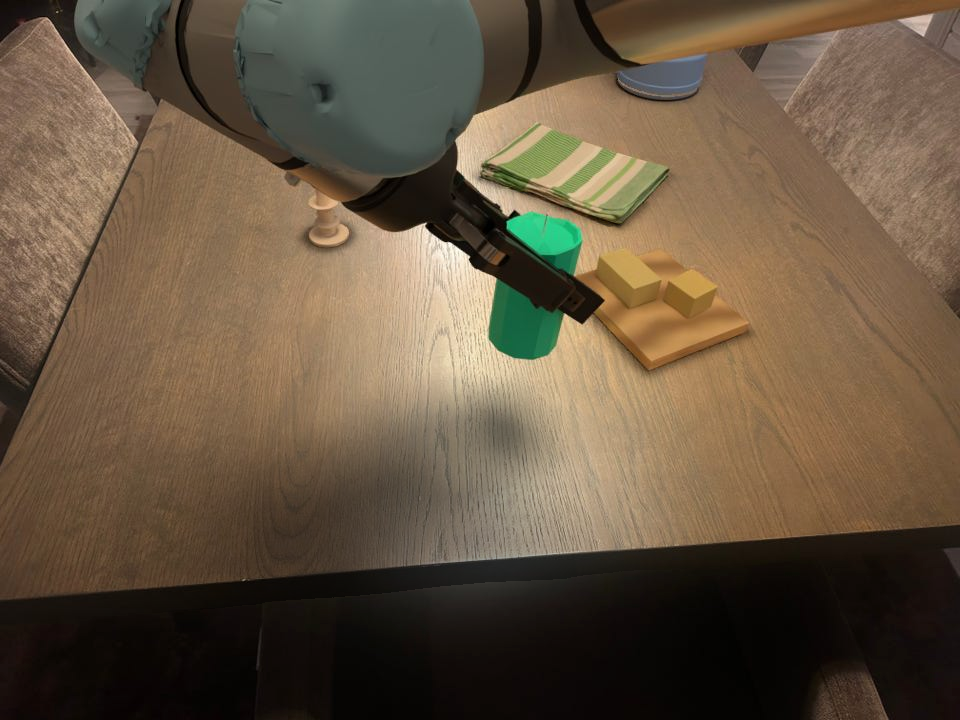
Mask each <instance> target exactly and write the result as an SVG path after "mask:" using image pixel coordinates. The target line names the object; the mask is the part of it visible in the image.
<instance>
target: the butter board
mask: <svg viewBox="0 0 960 720" xmlns="http://www.w3.org/2000/svg"><path fill="white" fill-rule="evenodd" d="M635 256H636V257H637V258H638V259H640V260H641V261H642V262H643V263H644V264H645V265H646V266H647V267H649V268H650V269H651V270H652V271H653V272H654V273H655V274H656V275H657V276H659V277H660V278H661V279H662V281H661V285H660V289H659V292H658V296H657V299H656V300H653V301H650V302H647V303H645V304H642V305H639V306H636V307H633V308H630V309H629V308H628V307H627V306H626V305H625V304H624V303H623V302H622V301H621V300H620V299H619V298H618V297H617V296H616V295H615V294H614V293H613V292H612V291H611V290H610V289H609V288H608V287H607V286H606V285H605V284H604V283H603V282H602V281H601V280H600V279H599V278H598V277H597V276H596V270H597V268H596V269H593V270H590V271H587V272H584V273H581V274H578V275H574V277H576V278H577V279H578V280H580V281H581V282H583V283H584V284H585V285H587V286H588V287H589V288H591V289H592V290H593V291H595V292H596V293H598V294H599V295H600V296H601V297H602V298H603V299H604V300H605V301H604V302H603V303H602V304H601V306H600V307H599V308H598V309H597V310H596V311H595V312H594V313H593V314H594V315H595V317H597V319H598V320H600V321H601V323H602V324H603V325H604V326H605V327H606V328H607V329H608V330H609V331H610V332H611V333H612V334H613V335H614V336H615V337H616V338H617V339H618V340H619V342H620V343H621V344H622V345H623V346H624V347H625V348H626V349H627V350H628V351H629V352H630V353H631V354H632V355H633V356H634V357H635V358H636V359H637V360H638V361H639V362H640V364H641V365H642V366H643V367H644V368H645V369H646V370H647V371H651V370H653V369H656V368H659V367H661V366H664V365H666V364H669V363H671V362H673V361H676V360H679V359H682V358H684V357H686V356H690V355H691V354H695V353H697V352H699V351H701V350H704V349H707V348H710V347H712V346H715V345H717V344H720V343H722V342H724V341H727V340H731V339H732V338H734V337H737V336H739V335H743V334H745V333H746V332H747V329H748V327H749V324H750V322H749V321H747V320H746V319H745V318H744V317H743V316H741V315H740V313H738V312H737V311H736V310H735V309H733V308H732V307H731V306H730V305H729V304H727V302H725V301H724V300H723V299H721V297H720V296H718V295H717V293H716V294H715V297H714V300H713V303H712V306H711V307H709V308H707V309H705V310H703V311H701V312H700V313H698V314H696V315H694V316H692V317H690V318H687V317H685V316H684V315H683V314H681V313H680V312H678V311H677V310H676V309H674V308H673V307H672V306H670V305H669V304H668V303H666V302H665V301H663V298H664V295H665V291H666V288H667V284H668V281H669V280H670V279H673V278H675V277H677V276H679V275H681V274H683V273H685V272H687V271H688V270H687V268H686V267H684V266H683V265H682V264H681V263H679V262H678V261H677V260H676V259H675V258H674V257H672V256H671V255H670V254H669V253H667V251H665V250H664V249H663V248H658V249H655V250H652V251H648V252H646V253H643V254H639V255H635Z"/></svg>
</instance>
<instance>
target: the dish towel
mask: <svg viewBox="0 0 960 720" xmlns="http://www.w3.org/2000/svg"><path fill="white" fill-rule="evenodd" d="M480 167H481V168H482V170H481V171H480V172H479V175H481V176H482V177H483V178H484V179H486V180H490V181H493V182H496V183H498V184H501V185H503V186H506V187H512V188H513V189H515V190H518V191H521V192H525V193H532V194H535V195H538V196H540V197H542V198H544V199H547V200H548V201H551V202H553V203H556V204H557V205H561V206H563V207H566V208H569V209H573V210H575V211H578V212H580V213H584V214H587V215H589V216H594V217H596V218H599V219H603V220H604V221H607V222H611V223H615V224H622V223H623V222H624V221H625V220H626V219H627V218H629V216H631V215H632V214H633V212H634V211H636V209H637V208H638V207H639V206H640V205H642V203H643V202H644V201H645V200H646V198H648V197H649V196H650V195H651V194H652V193H653V192H654V190H655V189H656V188H657V187H658V186H659V185H660V184H661V183H662V182H663V181H664V180H665V178H666V177H667V176H668V175H669V173H670V172H671V169H670V167H668V166H666V165H663V164H659V163H655V162H652V161H647V160H643V159H641V158H637V157H635V156H634V157H633V156H629V155H627V154H624V153H621V152H618V151H613V150H610V149H608V148H605V147H601V146H599V145H597V144H592V143H590V142H587V141H584V140H582V139H580V138H576V137H575V136H572V135H569V134H566V133H563V132H561V131H559V130H556V129H555V128H554V129H553V128H552V127H549V126H546V125H544V124H542V123H541V122H539V121H536V122H535V123H533V124H532V125H531V126H530V127H529V128H527V129H526V130H525V131H523V132H522V133H521V134H519V135H518V136H517V137H515V138H514V139H513V140H511V141H510V142H508V143H507V144H506V145H504V146H503V147H502V148H501V149H499V150H498V151H496V152H494V153H493V154H491V155H490V156H489V157H488V158H486V159H485V160H483V161H482V162H481V163H480Z"/></svg>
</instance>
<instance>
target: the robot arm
mask: <svg viewBox="0 0 960 720" xmlns="http://www.w3.org/2000/svg"><path fill="white" fill-rule="evenodd" d="M957 10H960V0H77V2H76V6H75V10H74V18H73V23H74V31H75V35H76V38H77V40H78V42H79V43H80V45H81V46H82V48H83V49H84V50H85V51H86V52H87V53H88V54H89V55H91V56H92V57H94V58H96V59H97V60H98V61H100V62H102V63H103V64H104V65H106V66H108V67H110V68H111V69H112V70H114V71H115V72H117V73H119V74H120V75H121V76H123V77H125V78H126V79H127V80H129V81H130V82H131V83H132V84H133V87H135V88H136V89H138V90H140V91H142V92H144V93H146V92H149V93H151V94H152V95H154V96H156V97H157V98H159V99H161V100H163V102H166V103H168V104H169V105H171V106H173V107H174V108H176V109H178V110H179V111H182V112H183V113H185V114H187V115H188V116H189V117H191V118H193V119H195V120H197V121H199V122H200V123H202V124H203V125H205V126H207V127H208V128H210V129H212V130H214V131H216V132H218V133H220V134H221V135H223V136H224V137H226V138H228V139H229V140H232V141H234V142H235V143H237V144H239V145H241V146H243V147H244V148H245V149H247V150H249V151H251V152H253V153H255V154H256V155H258V156H260V157H262V158H264V159H265V160H267V162H269V163H271V164H272V165H274V166H275V167H277V168H279V169H281V170H283V171H285V174H284V176H283V177H284V180H285V181H286V182H287V184H288V185H289V186H291V187H294V188H295V187H296V188H297V187H299V186H300V185H301V184H302V182H305V183H306V184H308V185H310V186H311V187H312V188H313V189H314V190H315V189H316V190H318V191H320V192H321V193H323V194H325V195H326V196H328V197H330V198H331V199H333V200H336V201H339V203H341V205H342V206H343V207H344V208H345V209H346V210H348V211H350V212H352V213H353V214H354V215H357V216H359V217H360V218H362V219H363V220H365V221H367V222H368V223H370V224H372V225H373V226H375V227H376V228H378V229H380V230H382V231H385V232H388V233H402V232H406V231H409V230H411V229H414V228H416V227H418V226H421V225H424V224H425V225H424V228H425V230H427V231H428V232H429V233H430V234H431V235H433V236H434V237H436V238H437V239H438V240H439V241H441V242H443V243H450V244H451V245H452V246H454V247H455V248H457V249H458V250H460V251H461V252H462V253H464V254H465V255H467V256H468V257H469V258H468V259H467V260H468V262H469V263H470V266H471V267H472V268H473V269H475V270H478V271H480V272H482V273H484V274H487V275H490V276H492V277H493V278H495V279H498V280H500V281H502V282H503V283H505V284H506V285H508V286H510V287H511V288H513V289H514V290H516V291H517V292H519V293H521V294H522V295H524V296H525V297H527V298H529V299H530V301H531V303H532V304H533V306H534V307H535V308H536V309H539V308H540V307H543V308H544V309H545V310H546V311H549V312H551V313H554V312H555V310H556V309H558V310H560V311H562V312H563V313H564V315H566V316H568V317H569V318H571V319H573V320H574V321H575V322H577V323H579V324H580V325H582V326H583V325H584V324H585V323H586V321H588V319H590V317H592V315H593V314H594V312H595V311H596V310H597V309H598V308H599V307H600V306H601V304H602V303H603V302H604V301H605V300H604V299H603V298H602V297H601V296H600V295H599V294H598V293H596V292H595V291H593V290H592V289H591V288H589V287H588V286H587V285H585V284H584V283H583V282H581V281H580V280H578V279H577V278H576V277H574V276H575V275H574V276H573V275H572V274H569V273H567V272H566V271H565V270H563V269H559V268H557V267H555V266H554V265H553V264H552V263H550V262H549V261H548V260H547V259H545V258H544V257H543V256H542V255H540V254H539V253H538V252H536V251H535V250H534V249H533V248H531V247H530V246H529V245H528V244H526V243H525V242H524V241H523V240H521V239H520V238H519V237H517V236H516V235H515V234H514V233H512V232H511V231H510V230H509V229H507V221H508V220H510V219H513V218H515V217H517V216H520V215H521V213H520V212H518V211H517V210H516V209H513V210H512V211H511V213H510V214H509V215H506V214H505V213H504V211H503V209H502V207H501V206H500V204H498V202H493V201H492V200H491V199H490V198H488V197H487V196H485V195H484V194H483V193H481V191H479V190H478V188H477V187H476V186H475V185H473V183H472V182H470V181H469V180H468V179H466V177H465V175H464V174H462V173H461V172H460V171H459V170H458V169H457V168H458V162H459V161H458V160H459V151H458V145H457V139H458V138H459V137H460V136H461V135H462V134H464V133H465V132H466V130H467V129H468V127H469V125H470V123H471V122H472V120H473V118H474V116H476V115H478V114H481V113H484V112H487V111H490V110H492V109H495V108H498V107H499V106H503V105H504V104H507V103H510V102H513V101H514V100H516V99H518V98H521V97H524V96H527V95H530V94H534V93H536V92H540V91H543V90H546V89H548V88H549V89H550V88H552V87H555V86H558V85H561V84H565V83H568V82H571V81H575V80H579V79H584V78H589V77H594V76H600V75H605V74H611V73H617V71H622V70H627V69H632V68H637V67H642V66H645V65H648V64H652V63H656V62H662V61H667V60H673V59H679V58H684V57H690V56H696V55H701V54H707V53H708V54H712V53H717V52H723V51H730V50H734V49H740V48H746V47H752V46H757V45H758V46H759V45H763V44H769V43H774V42H781V41H785V40H786V41H787V40H791V39H797V38H803V37H809V36H814V35H819V34H824V33H825V34H826V33H830V32H831V33H832V32H837V31H842V30H847V29H854V28H860V27H864V26H870V25H875V24H881V23H887V22H893V21H894V22H895V21H900V20H905V19H909V18H916V17H921V16H922V17H923V16H928V15H933V14H939V13H943V12H949V11H957ZM316 190H315V191H316Z"/></svg>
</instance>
